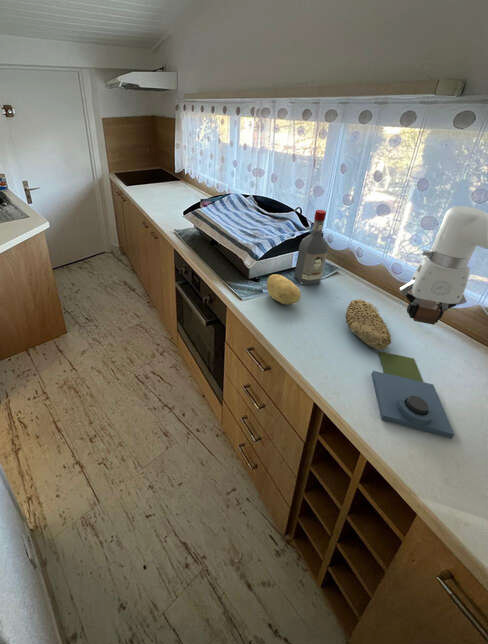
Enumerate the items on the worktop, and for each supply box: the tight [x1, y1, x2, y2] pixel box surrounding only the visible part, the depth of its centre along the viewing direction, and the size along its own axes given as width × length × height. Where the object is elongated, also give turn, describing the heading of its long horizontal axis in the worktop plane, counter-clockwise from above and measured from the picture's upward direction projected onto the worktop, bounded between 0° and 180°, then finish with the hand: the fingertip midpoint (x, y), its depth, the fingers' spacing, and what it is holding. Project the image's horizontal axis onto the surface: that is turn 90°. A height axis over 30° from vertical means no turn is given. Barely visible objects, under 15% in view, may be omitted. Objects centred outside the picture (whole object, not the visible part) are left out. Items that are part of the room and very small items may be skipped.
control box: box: [371, 370, 456, 439], centre depth 76 cm, size 14×14×4 cm
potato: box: [266, 273, 302, 306], centre depth 113 cm, size 10×14×10 cm
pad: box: [378, 350, 424, 382], centre depth 86 cm, size 9×9×1 cm
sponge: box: [345, 298, 392, 350], centre depth 98 cm, size 13×8×20 cm
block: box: [412, 299, 441, 326], centre depth 82 cm, size 5×5×5 cm
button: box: [406, 396, 428, 415], centre depth 72 cm, size 4×4×2 cm
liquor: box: [293, 209, 329, 287], centre depth 121 cm, size 9×9×30 cm
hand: (422, 316), depth 82 cm, fingers closed on block, 4 cm apart
